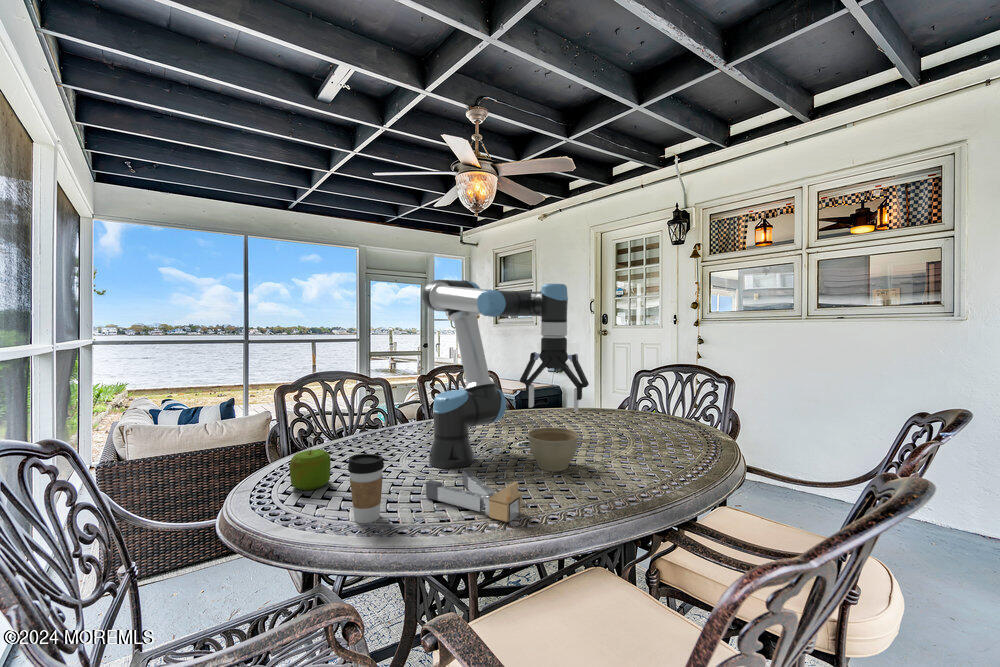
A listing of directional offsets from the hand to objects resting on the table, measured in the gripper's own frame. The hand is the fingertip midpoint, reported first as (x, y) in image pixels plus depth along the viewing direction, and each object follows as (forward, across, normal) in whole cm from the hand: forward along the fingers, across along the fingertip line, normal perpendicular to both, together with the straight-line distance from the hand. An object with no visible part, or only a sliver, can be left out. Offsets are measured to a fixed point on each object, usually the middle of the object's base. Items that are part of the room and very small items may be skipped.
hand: (553, 408), depth 130 cm
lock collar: (+21, +4, +27) cm, 34 cm away
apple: (+22, +64, +30) cm, 74 cm away
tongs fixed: (+22, +15, +25) cm, 36 cm away
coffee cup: (+22, +35, +40) cm, 58 cm away
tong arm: (+21, +16, +19) cm, 32 cm away
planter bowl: (+22, +3, -11) cm, 25 cm away
